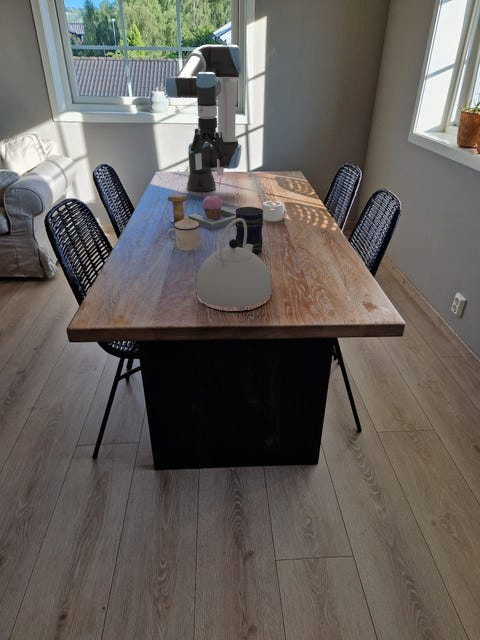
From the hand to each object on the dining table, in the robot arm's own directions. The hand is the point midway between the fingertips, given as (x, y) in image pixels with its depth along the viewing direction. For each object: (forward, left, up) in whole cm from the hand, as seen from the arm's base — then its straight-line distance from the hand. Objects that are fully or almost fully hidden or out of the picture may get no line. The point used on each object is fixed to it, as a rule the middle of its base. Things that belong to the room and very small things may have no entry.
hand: (209, 172), depth 187 cm
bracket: (+17, +23, -20) cm, 35 cm away
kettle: (+59, -42, -20) cm, 75 cm away
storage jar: (+39, -16, -20) cm, 47 cm away
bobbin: (-4, -15, -19) cm, 25 cm away
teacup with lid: (+20, -31, -20) cm, 42 cm away
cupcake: (+2, -1, -20) cm, 20 cm away
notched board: (+2, -1, -19) cm, 19 cm away
